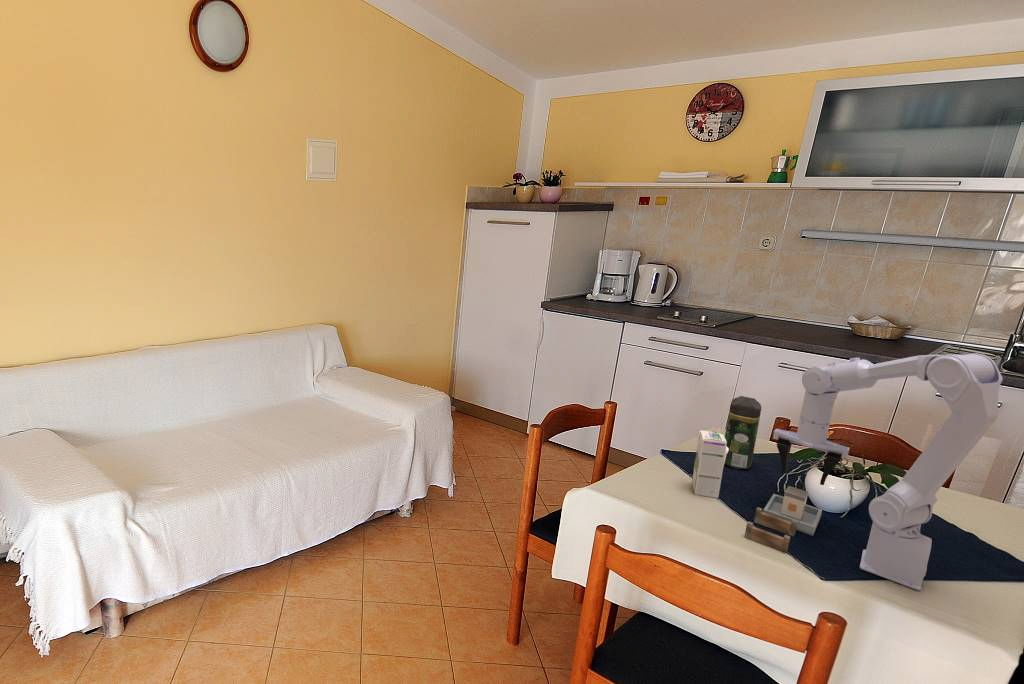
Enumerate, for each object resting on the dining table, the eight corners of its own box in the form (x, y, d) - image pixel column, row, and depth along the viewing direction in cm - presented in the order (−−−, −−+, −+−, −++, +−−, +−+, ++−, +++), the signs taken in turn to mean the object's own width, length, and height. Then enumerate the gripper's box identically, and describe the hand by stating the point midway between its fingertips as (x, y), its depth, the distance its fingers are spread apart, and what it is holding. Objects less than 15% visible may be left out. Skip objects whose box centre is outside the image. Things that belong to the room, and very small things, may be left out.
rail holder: (794, 534, 113) (797, 521, 112) (786, 553, 105) (789, 538, 105) (755, 520, 117) (757, 507, 117) (744, 536, 110) (747, 523, 109)
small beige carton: (803, 516, 120) (808, 491, 118) (799, 523, 116) (805, 498, 115) (783, 509, 122) (788, 485, 121) (779, 516, 119) (784, 491, 118)
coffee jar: (722, 453, 153) (732, 392, 149) (751, 460, 150) (763, 397, 146) (718, 465, 145) (729, 400, 141) (750, 473, 141) (762, 407, 137)
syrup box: (718, 498, 126) (728, 441, 123) (693, 494, 127) (702, 437, 124) (714, 487, 131) (724, 432, 128) (690, 483, 132) (699, 429, 129)
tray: (820, 517, 121) (822, 509, 120) (813, 536, 113) (815, 527, 112) (772, 501, 127) (773, 493, 126) (761, 517, 119) (763, 509, 118)
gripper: (775, 415, 117) (764, 472, 119) (851, 434, 108) (838, 495, 111) (781, 408, 122) (770, 462, 125) (854, 425, 114) (841, 483, 117)
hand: (802, 477), depth 118 cm, fingers open, 7 cm apart
